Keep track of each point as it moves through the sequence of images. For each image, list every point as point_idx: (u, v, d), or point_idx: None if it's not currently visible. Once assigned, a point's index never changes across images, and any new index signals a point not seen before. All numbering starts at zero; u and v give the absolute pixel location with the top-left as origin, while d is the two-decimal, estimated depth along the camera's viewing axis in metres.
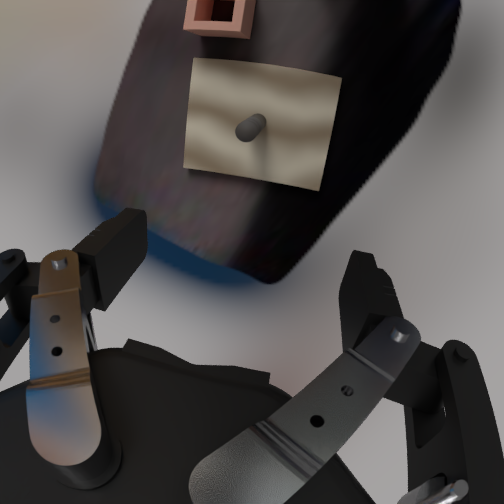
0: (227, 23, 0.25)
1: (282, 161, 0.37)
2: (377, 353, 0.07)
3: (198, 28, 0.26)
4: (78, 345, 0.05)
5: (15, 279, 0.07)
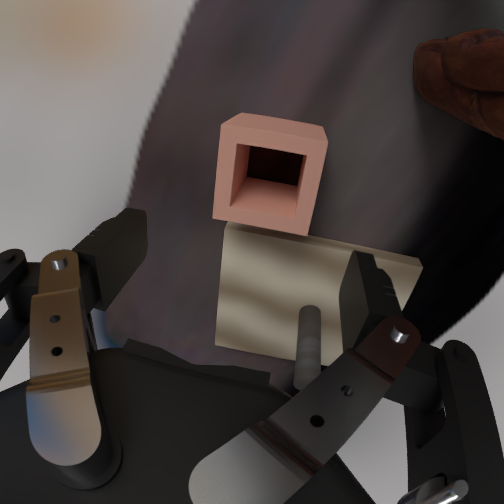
0: (287, 220, 0.19)
1: (333, 349, 0.31)
2: (377, 353, 0.07)
3: (238, 221, 0.20)
4: (78, 345, 0.05)
5: (15, 279, 0.07)
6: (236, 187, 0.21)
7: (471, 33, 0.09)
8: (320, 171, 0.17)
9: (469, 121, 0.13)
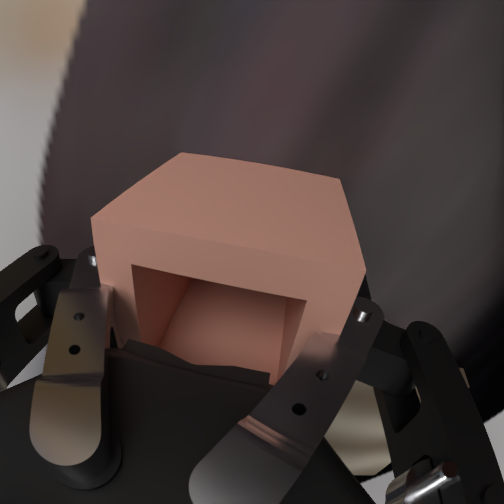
0: None
1: None
2: None
3: None
4: (97, 347, 0.05)
5: (49, 276, 0.08)
6: (164, 318, 0.10)
7: None
8: (337, 332, 0.07)
9: None
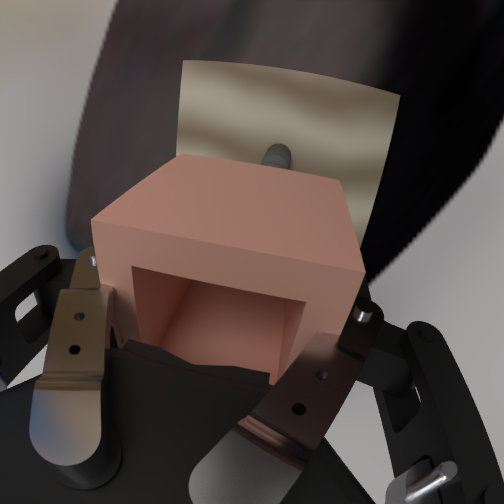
0: None
1: None
2: None
3: None
4: (97, 347, 0.05)
5: (49, 276, 0.08)
6: (164, 319, 0.10)
7: None
8: (337, 333, 0.07)
9: None
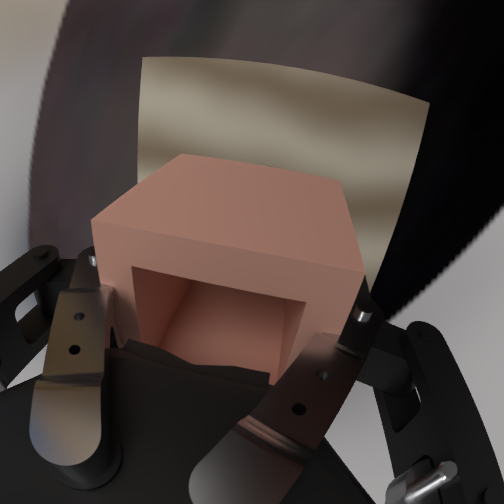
0: None
1: None
2: None
3: None
4: (97, 347, 0.05)
5: (49, 276, 0.08)
6: (164, 319, 0.10)
7: None
8: (337, 333, 0.07)
9: None
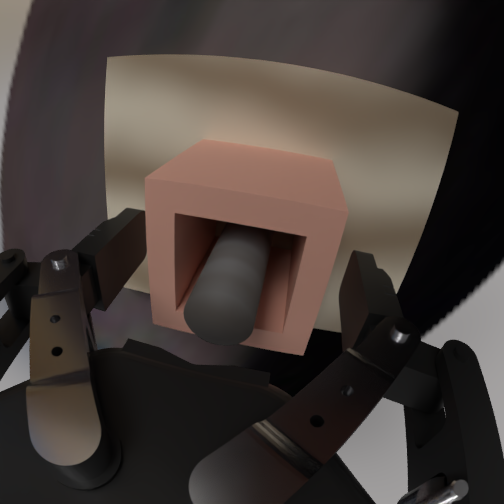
0: (270, 335, 0.11)
1: None
2: (377, 353, 0.07)
3: None
4: (78, 345, 0.05)
5: (15, 279, 0.07)
6: (190, 271, 0.13)
7: None
8: (331, 264, 0.10)
9: None
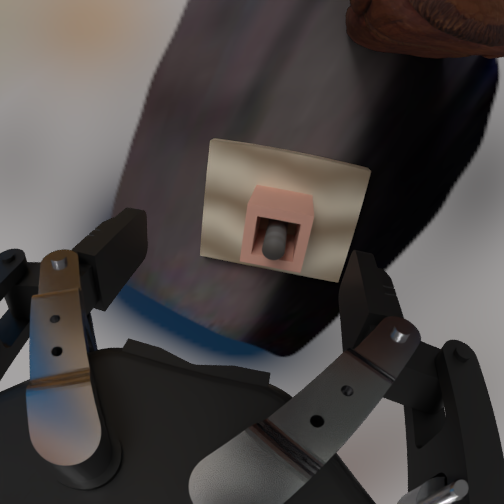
0: (287, 263, 0.31)
1: None
2: (377, 353, 0.07)
3: (256, 263, 0.31)
4: (78, 345, 0.05)
5: (15, 279, 0.07)
6: (254, 240, 0.32)
7: None
8: (309, 234, 0.29)
9: (372, 37, 0.20)
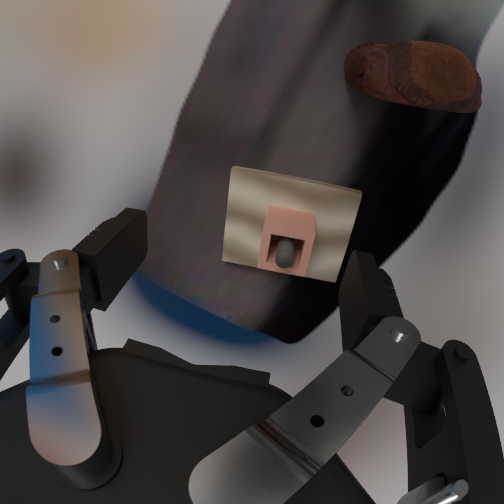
0: (294, 269, 0.39)
1: None
2: (377, 353, 0.07)
3: (270, 269, 0.39)
4: (78, 345, 0.05)
5: (15, 279, 0.07)
6: (268, 251, 0.40)
7: (357, 46, 0.24)
8: (311, 247, 0.37)
9: (364, 93, 0.27)
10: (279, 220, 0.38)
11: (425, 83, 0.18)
